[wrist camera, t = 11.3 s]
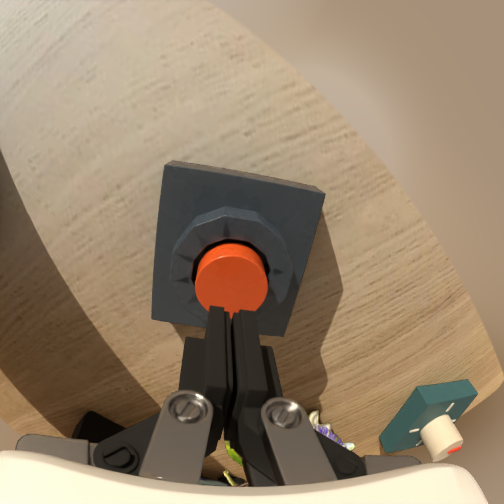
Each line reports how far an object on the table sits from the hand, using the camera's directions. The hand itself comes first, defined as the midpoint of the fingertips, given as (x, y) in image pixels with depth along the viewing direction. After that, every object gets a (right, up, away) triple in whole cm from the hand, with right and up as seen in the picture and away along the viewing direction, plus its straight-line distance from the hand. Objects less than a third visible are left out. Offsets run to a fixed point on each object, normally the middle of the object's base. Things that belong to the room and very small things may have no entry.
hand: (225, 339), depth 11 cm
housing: (0, +4, +9) cm, 9 cm away
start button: (0, +2, +5) cm, 6 cm away
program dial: (+24, -18, +16) cm, 34 cm away
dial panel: (+23, -17, +19) cm, 35 cm away
